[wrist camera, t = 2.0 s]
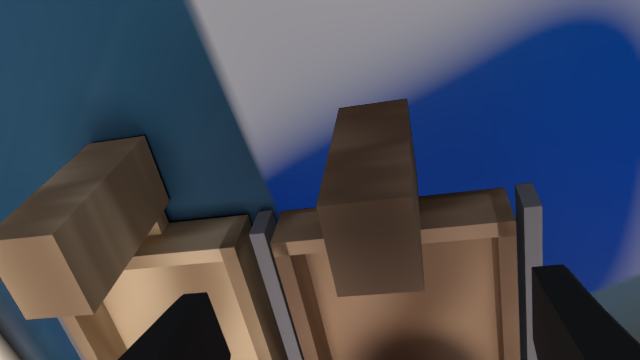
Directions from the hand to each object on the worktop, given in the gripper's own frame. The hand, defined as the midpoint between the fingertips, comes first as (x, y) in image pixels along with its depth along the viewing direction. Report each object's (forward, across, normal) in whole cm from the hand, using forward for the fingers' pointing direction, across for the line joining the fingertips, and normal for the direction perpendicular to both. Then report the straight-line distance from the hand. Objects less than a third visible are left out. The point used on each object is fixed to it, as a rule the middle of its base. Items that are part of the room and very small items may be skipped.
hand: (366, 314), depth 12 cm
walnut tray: (+9, 0, +7) cm, 12 cm away
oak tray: (+9, +10, +8) cm, 15 cm away
